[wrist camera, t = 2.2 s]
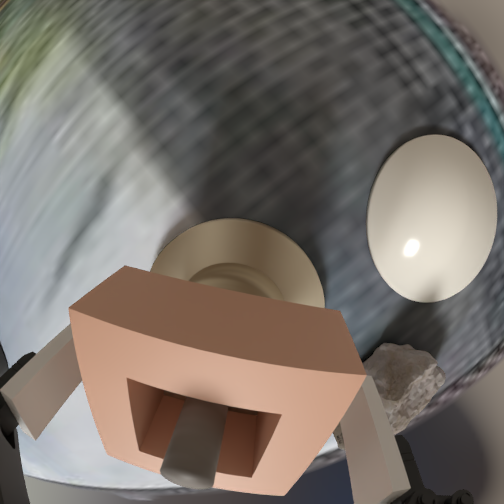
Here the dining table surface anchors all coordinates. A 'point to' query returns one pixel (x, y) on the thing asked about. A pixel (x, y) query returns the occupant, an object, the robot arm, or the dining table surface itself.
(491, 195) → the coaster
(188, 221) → the dining table surface
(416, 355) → the stone
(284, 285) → the stand
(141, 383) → the link
